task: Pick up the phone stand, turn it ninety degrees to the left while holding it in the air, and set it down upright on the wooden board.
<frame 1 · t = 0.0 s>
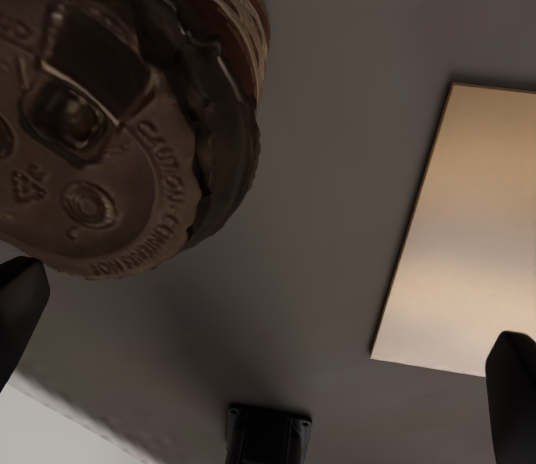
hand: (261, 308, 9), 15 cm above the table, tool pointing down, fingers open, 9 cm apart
coffee cup: (205, 28, 21), on the table
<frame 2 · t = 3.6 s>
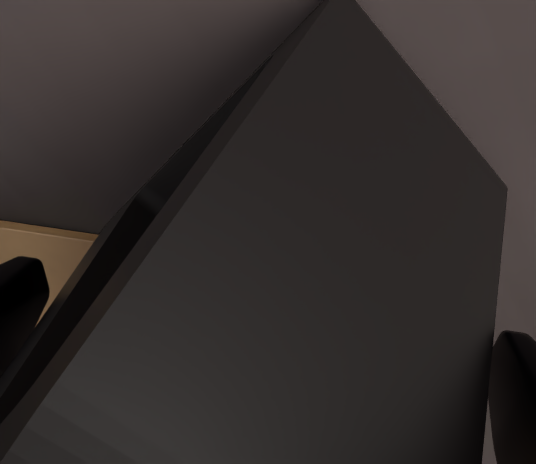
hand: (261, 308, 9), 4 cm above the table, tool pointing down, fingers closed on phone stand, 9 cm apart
phone stand: (286, 198, 13), on the table, touching gripper
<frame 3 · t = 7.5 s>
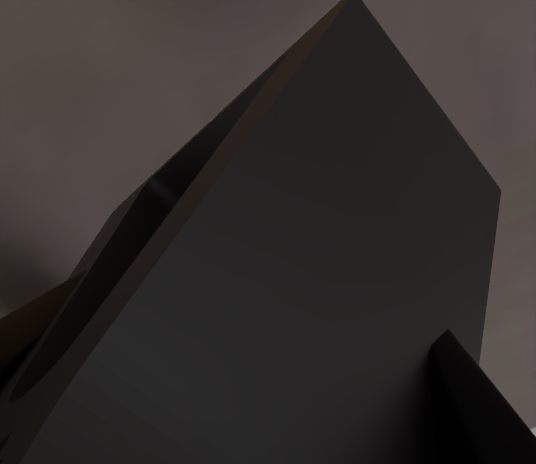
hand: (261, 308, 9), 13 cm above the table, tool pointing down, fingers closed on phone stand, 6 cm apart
phone stand: (290, 192, 13), point 8 cm above the table, touching gripper
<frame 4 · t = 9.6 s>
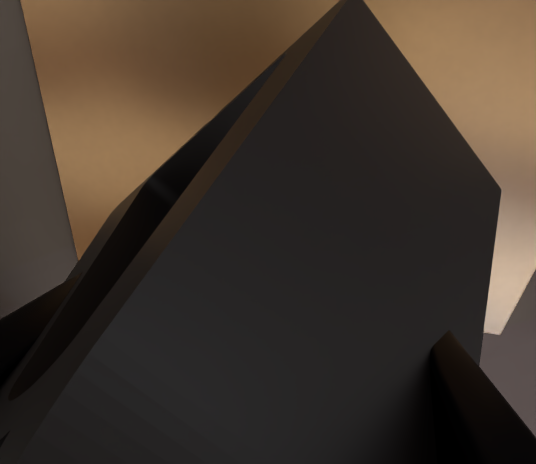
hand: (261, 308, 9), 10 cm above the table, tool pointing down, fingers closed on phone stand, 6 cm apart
phone stand: (290, 191, 13), point 5 cm above the table, touching gripper
wooden board: (305, 115, 17), on the table
when the fingers open (5 cm above the table, at t = 11.3 s): phone stand stays where it is, resting on wooden board.
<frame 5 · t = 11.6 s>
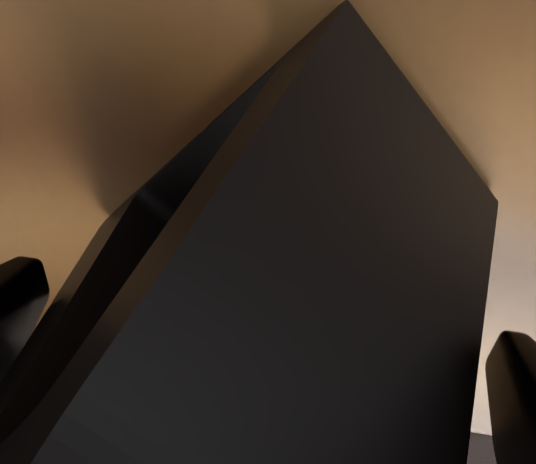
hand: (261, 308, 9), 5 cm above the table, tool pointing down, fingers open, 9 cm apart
phone stand: (283, 202, 13), resting on wooden board, touching gripper
wooden board: (286, 189, 13), on the table
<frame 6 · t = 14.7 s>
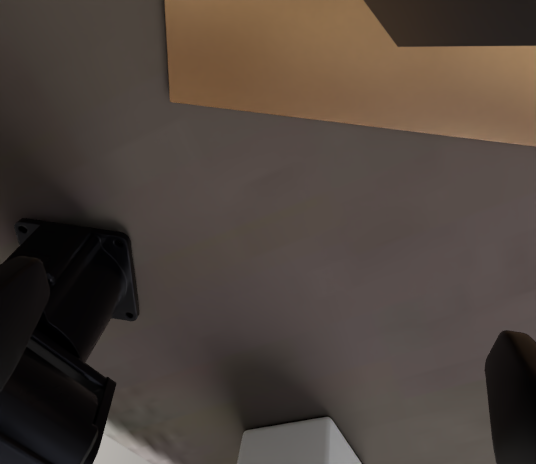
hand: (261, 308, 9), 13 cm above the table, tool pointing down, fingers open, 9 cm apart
medicine bottle: (305, 446, 35), on the table
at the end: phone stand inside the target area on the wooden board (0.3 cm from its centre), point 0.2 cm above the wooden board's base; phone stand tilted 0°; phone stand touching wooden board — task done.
